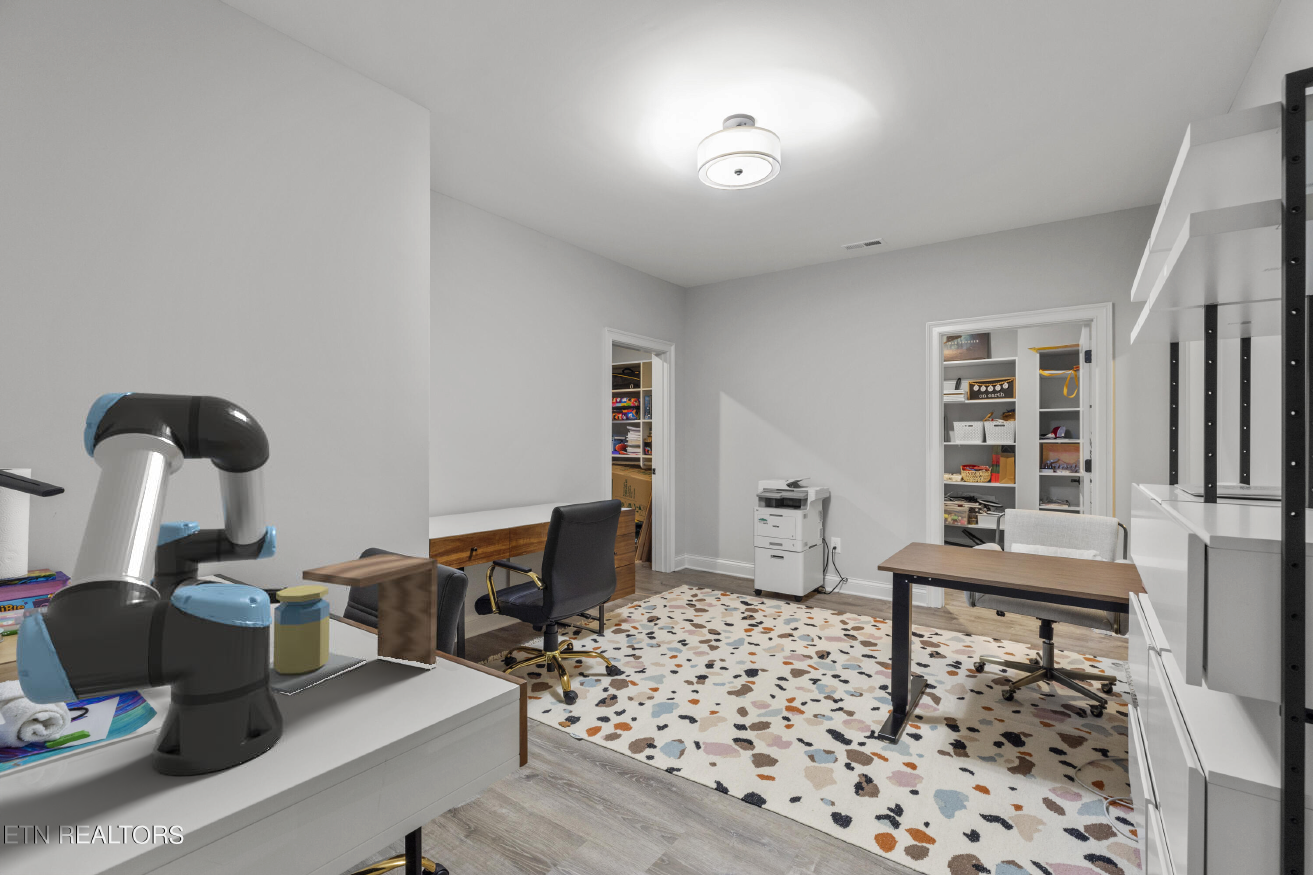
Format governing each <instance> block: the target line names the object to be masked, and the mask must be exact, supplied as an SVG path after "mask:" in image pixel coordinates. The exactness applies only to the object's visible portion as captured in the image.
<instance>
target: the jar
mask: <svg viewBox="0 0 1313 875" xmlns="http://www.w3.org/2000/svg"><path fill="white" fill-rule="evenodd" d="M282 589H283V588H282ZM328 594H329V588H328V587H326V586H324V585H322V584H318V585H317V584H316V585H311V584H310V585H308V584H307V585H305V584H304V585H298V586H293V587H292V586H291V587H288V588H286V589H283V590H281V591H279V592H277V593H276V599H278V600H279V601H281V602H283V603H281V604H280V603H279V604H278V606H276V607H274V609H273V610H274V612H273V614H274V615H273V616H274V617H273V619H274V620H273V661H274V663H273V668H274V669H275V670H277V671H278V672H279V673H281V674H284V675H297V674H303V673H307V672H311V671H315V670H316V669H318V668H319V667H321V666H322V665H323V664H325V663H326V662H327V661H329V653H330V651H329V650H330V606H331V605H330V602H328V601H327V600H326V599H324V598H323V597H324V596H325V597H326V596H328Z"/></svg>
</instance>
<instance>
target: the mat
mask: <svg viewBox="0 0 1313 875" xmlns="http://www.w3.org/2000/svg"><path fill="white" fill-rule="evenodd" d="M363 661H366V662H367V659H363V658H362V659H361V658H358V657H353V656H349V655H343V654H338V653H334V652H329V661H327V662H326V663H325V664H323V665H322V666H321V667H319V668H318V669H316V670H315V671H311V672H307V673H303V674H297V675H284V674H281V673H279V672H278V671H277V670H275V669H274V668H273V663H274V660H273V661H270V687H271V690H272V692H273V691H276V692H275V693H277V692H284V693H289V694H291V693H293V692H296V691H298V690H301V689H304V688H306V687H308V686H310V685H313V684H314V683H317V682H319V681H321V680H323V679H325V678H328V677H330V676H332V675H335V674H337V673H339V672H341V671H344V670H346V669H348V668H351V667H353V666H355V665H357V664H359V663H361V662H363Z"/></svg>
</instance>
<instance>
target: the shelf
mask: <svg viewBox="0 0 1313 875" xmlns="http://www.w3.org/2000/svg"><path fill="white" fill-rule="evenodd" d="M438 560H439V559H438V558H437V559H436V558H430V557H429V558H427V557H419V556H409V555H404V554H403V555H402V554H394V553H393V554H391V553H381V554H376V555H372V556H366V557H362V558H357V559H353V560H348V561H344V562H343V561H342V562H339V563H338V562H337V563H334V564H330V565H324V566H321V567H315V568H312V569H311V568H310V569H306V570H302V579H301V580H303V581H311V582H320V583H324V584H332V585H338V586H345V587H352V588H358V589H359V588H364V587H368V586H371V585H375V584H378V585H377V586H378V587H377V588H378V595H377V596H378V597H377V649H376V650H377V652H376V653H377V655H378V656H383V657H391V658H395V659H402V660H408V661H416V662H420V663H424V664H429V665H432V664H435V663H436V664H437V627H438V626H437V625H438V623H437V621H438V619H437V618H438V617H437V616H438V614H437V613H438Z"/></svg>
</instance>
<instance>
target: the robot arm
mask: <svg viewBox="0 0 1313 875" xmlns="http://www.w3.org/2000/svg"><path fill="white" fill-rule="evenodd" d="M85 425H86V426H85V427H84V430H83V443H84V449H85V451H86V453H87V455H88V456H89V457H91V459H93V460H94V462H95V464H96V465H97V467H99V468H100V469H101V471H100V474H99V479H98V482H97V486H96V489H95V493H94V496H93V500H92V504H91V508H90V511H89V515H88V518H87V522H86V526H85V530H84V532H83V536H82V539H81V544H80V547H79V550H78V554H77V558H76V562H75V564H74V569H73V572H72V575H71V579H70V583H69V584H68V585H66V586H64V587H62V588H60V589H58V590H57V591H55V593H53V595H52V596H51V597H50V599H49V602H48V606H47V608H46V611H45V612H42V611H37V612H34V613H31V614H28V615H26V616H25V617H24V618H23V620H22V621H21V622H20V624H19V628H18V632H17V636H16V648H15V649H16V650H15V653H16V654H15V657H16V671H17V677H18V681H19V682H18V683H19V685H20V689H21V691H22V693H23V695H24V696H25V698H26V699H27V700H28V701H29V702H31V703H33V704H35V705H50V704H52V705H53V704H59V703H67V702H73V703H79V701H81V700H87V699H88V700H89V699H95V698H100V697H101V698H102V697H106V696H112V695H119V694H123V693H130V692H134V691H135V692H136V691H141V690H148V689H155V688H160V687H167V686H169V687H170V704H169V707H168V709H167V712H166V716H165V717H164V721H163V722H162V725H161V728H160V730H159V732H158V736H157V738H156V740H155V743H154V744H153V745H154V746H153V751H152V753H153V754H152V759H153V760H152V766H153V768H154V769H155V771H157V772H158V773H160V774H164V775H170V776H192V775H200V774H207V773H212V772H215V771H220V770H224V769H227V767H228V768H230V767H229V766H231V767H233V766H232V765H234V766H236V765H235V764H237V765H239V764H238V763H240V762H243V763H245V762H247V761H246V760H248V759H250V760H252V759H254V758H256V757H258V756H260V755H262V754H263V753H262V752H264V751H265V752H267V751H268V750H267V749H268V748H270V747H271V748H273V747H274V746H275V745H276V744H277V743H278V742H279V741H280V740H281V738H282V737H283V729H284V728H283V727H284V726H283V722H284V721H283V716H282V712H281V710H280V708H279V705H278V703H277V700H276V697H275V695H274V692H273V691H272V690H271V687H270V663H271V625H272V623H273V618H272V615H271V605H273V604H274V605H275V604H276V605H277V604H279V605H280V604H281V603H283V602H281V601H279V600H278V599H276V593H277V592H279V591H281V590H283V589H286V588H289V587H287V586H285V587H283V588H259V587H256V586H252V585H249V584H248V585H246V584H238V583H225V582H223V581H215V580H209V579H203V578H199V576H198V575H199V574H198V573H199V564H210V563H225V562H236V561H237V562H238V561H258V560H262V559H269V558H272V557H275V555H276V552H277V528H276V527H275V526H273V525H267V523H266V522H267V521H266V520H267V519H266V493H265V491H266V489H265V465H266V464H267V463H268V461H269V459H270V443H269V440H268V437H267V434H266V432H265V431H264V428H263V427H262V425H260V423H259V422H258V421H257V419H256V418H255V417H254V416H253V415H252V414H251V413H249V412H248V410H246V409H245V408H243V407H241V406H240V405H238V404H237V403H234V402H232V401H231V400H228V399H225V398H222V397H220V396H212V395H193V394H192V395H190V394H189V395H187V394H184V395H183V394H171V393H170V394H169V393H168V394H167V393H147V392H136V391H127V392H108V393H105V394H102V395H101V396H99V397H98V398H96V400H95V401H94V402H93V404H92V405H91V406H90V408H89V410H88V413H87V416H86V418H85ZM193 459H194V460H196V459H198V460H199V459H200V460H201V459H208V460H209V459H210V462H211V464H212V465H213V467H215V468H216V469H217V473H218V481H219V490H220V497H221V507H222V515H223V516H222V517H223V524H224V528H201V527H200V524H199V522H198V521H197V520H196V521H194V520H179V521H178V520H177V521H169V522H163V523H162V520H163V514H164V508H165V505H166V498H167V494H168V493H167V492H168V487H169V481H170V477H171V476H173V475H174V474H176V473H177V472H178V471H179V470H180V469H182V467H183V465H184V461H185V460H193ZM153 571H154V574H153V578H152V573H153ZM279 739H280V740H279ZM278 740H279V741H278ZM277 741H278V742H277ZM276 742H277V743H276ZM275 743H276V744H275ZM274 744H275V745H274ZM273 745H274V746H273ZM272 746H273V747H272ZM271 748H270V749H271ZM266 750H267V751H266ZM265 752H264V753H265ZM261 753H262V754H261ZM259 754H260V755H259ZM257 755H258V756H257ZM255 756H256V757H255ZM253 757H254V758H253ZM251 758H252V759H251ZM244 761H245V762H244ZM248 761H249V760H248ZM240 764H241V763H240Z"/></svg>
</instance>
